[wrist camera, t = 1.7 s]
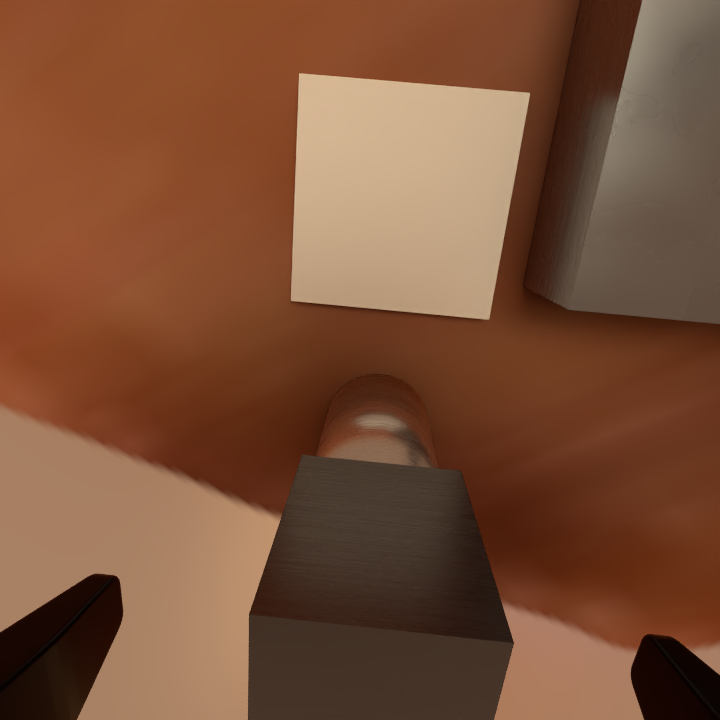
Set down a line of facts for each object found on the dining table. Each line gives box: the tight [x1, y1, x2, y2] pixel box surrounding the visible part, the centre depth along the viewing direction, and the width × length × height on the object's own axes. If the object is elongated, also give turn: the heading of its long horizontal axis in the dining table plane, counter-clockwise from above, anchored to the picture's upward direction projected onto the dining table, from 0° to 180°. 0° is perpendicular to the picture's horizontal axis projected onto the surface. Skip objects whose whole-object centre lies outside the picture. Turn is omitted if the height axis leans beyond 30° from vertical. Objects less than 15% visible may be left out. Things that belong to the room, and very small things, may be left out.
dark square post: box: [248, 374, 514, 720], centre depth 11 cm, size 3×3×10 cm
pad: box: [291, 73, 530, 320], centre depth 13 cm, size 6×6×1 cm
